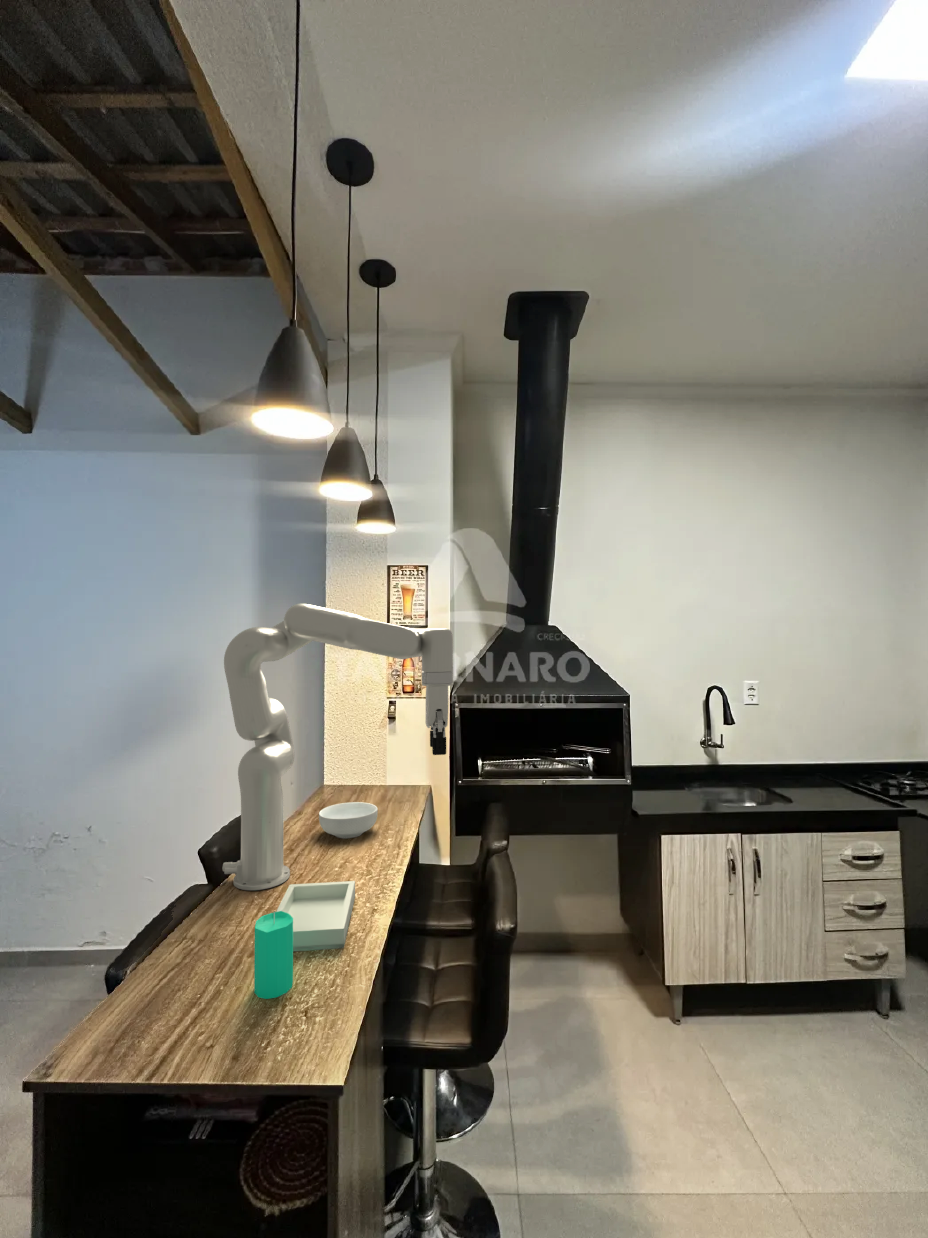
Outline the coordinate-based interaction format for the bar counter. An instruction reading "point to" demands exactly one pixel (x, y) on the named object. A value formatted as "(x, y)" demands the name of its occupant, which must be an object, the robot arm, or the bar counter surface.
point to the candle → (273, 955)
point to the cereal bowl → (348, 819)
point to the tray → (319, 914)
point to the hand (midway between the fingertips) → (437, 750)
